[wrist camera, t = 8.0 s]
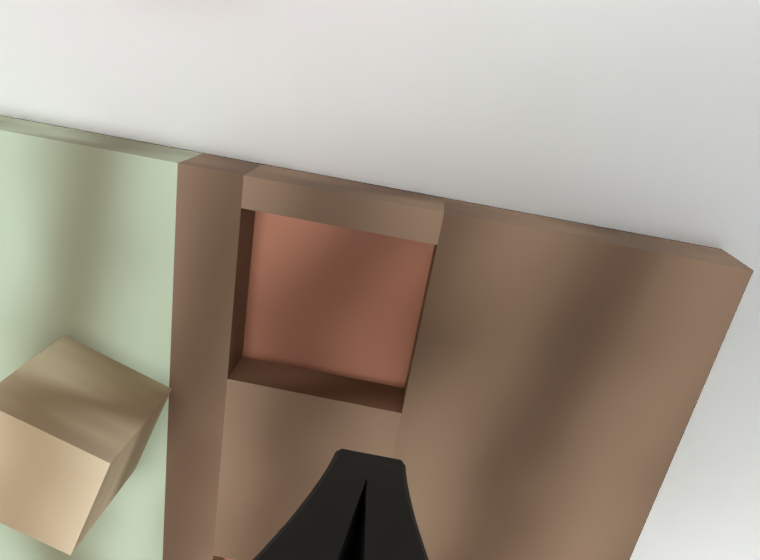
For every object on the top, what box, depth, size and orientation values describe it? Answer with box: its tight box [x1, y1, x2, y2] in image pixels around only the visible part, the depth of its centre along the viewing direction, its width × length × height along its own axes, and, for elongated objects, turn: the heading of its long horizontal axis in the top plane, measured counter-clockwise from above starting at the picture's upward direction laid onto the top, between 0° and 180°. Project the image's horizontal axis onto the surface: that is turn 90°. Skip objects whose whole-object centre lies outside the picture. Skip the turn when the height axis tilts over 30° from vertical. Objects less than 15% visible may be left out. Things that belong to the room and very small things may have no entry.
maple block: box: [0, 335, 172, 555], centre depth 19 cm, size 4×4×4 cm
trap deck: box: [0, 116, 753, 560], centre depth 22 cm, size 24×22×2 cm
